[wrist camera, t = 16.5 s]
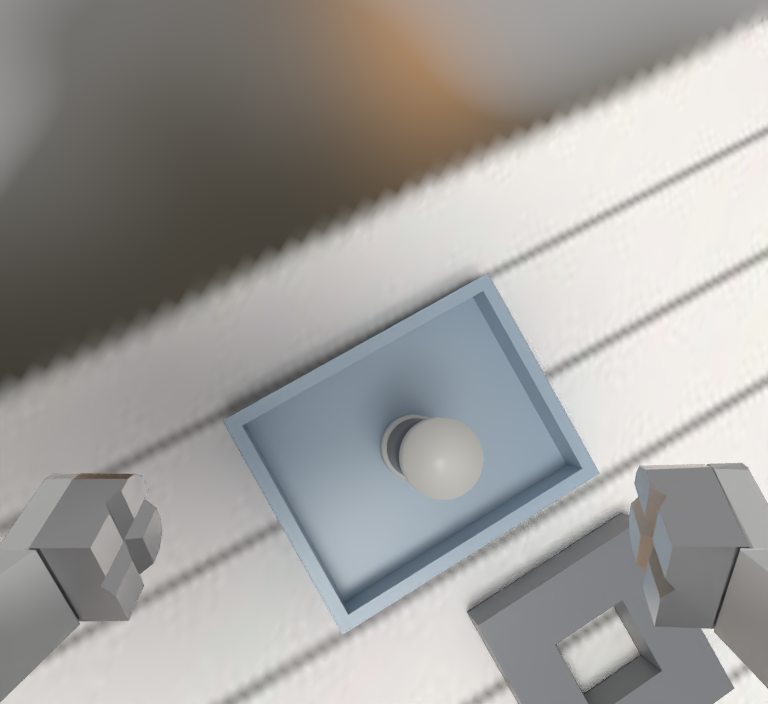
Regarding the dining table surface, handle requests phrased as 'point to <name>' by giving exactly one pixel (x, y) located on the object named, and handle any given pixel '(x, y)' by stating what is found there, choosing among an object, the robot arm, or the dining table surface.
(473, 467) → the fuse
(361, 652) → the dining table surface
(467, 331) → the parts tray
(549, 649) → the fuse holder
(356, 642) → the dining table surface
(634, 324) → the dining table surface
